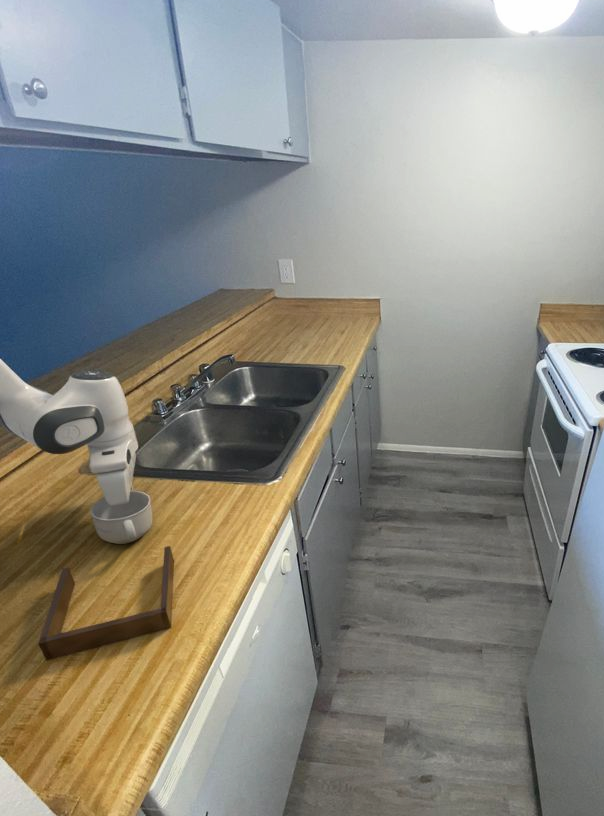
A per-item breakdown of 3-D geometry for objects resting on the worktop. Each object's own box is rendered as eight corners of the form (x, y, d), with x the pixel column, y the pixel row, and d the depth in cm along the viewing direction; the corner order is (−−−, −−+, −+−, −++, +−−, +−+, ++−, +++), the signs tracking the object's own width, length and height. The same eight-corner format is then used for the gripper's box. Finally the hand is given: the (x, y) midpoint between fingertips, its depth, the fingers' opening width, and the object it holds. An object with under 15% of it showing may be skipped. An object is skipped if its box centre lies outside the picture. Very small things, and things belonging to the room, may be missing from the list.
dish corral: (46, 660, 74) (38, 643, 73) (68, 583, 88) (62, 568, 86) (171, 627, 81) (166, 611, 79) (174, 561, 95) (170, 545, 93)
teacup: (101, 525, 103) (91, 495, 99) (156, 512, 108) (148, 483, 104) (98, 567, 92) (86, 535, 89) (159, 551, 97) (151, 520, 93)
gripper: (102, 424, 106) (118, 475, 113) (87, 471, 90) (107, 528, 96) (134, 420, 109) (147, 470, 115) (125, 465, 92) (141, 521, 98)
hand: (129, 497), depth 106 cm, fingers closed
